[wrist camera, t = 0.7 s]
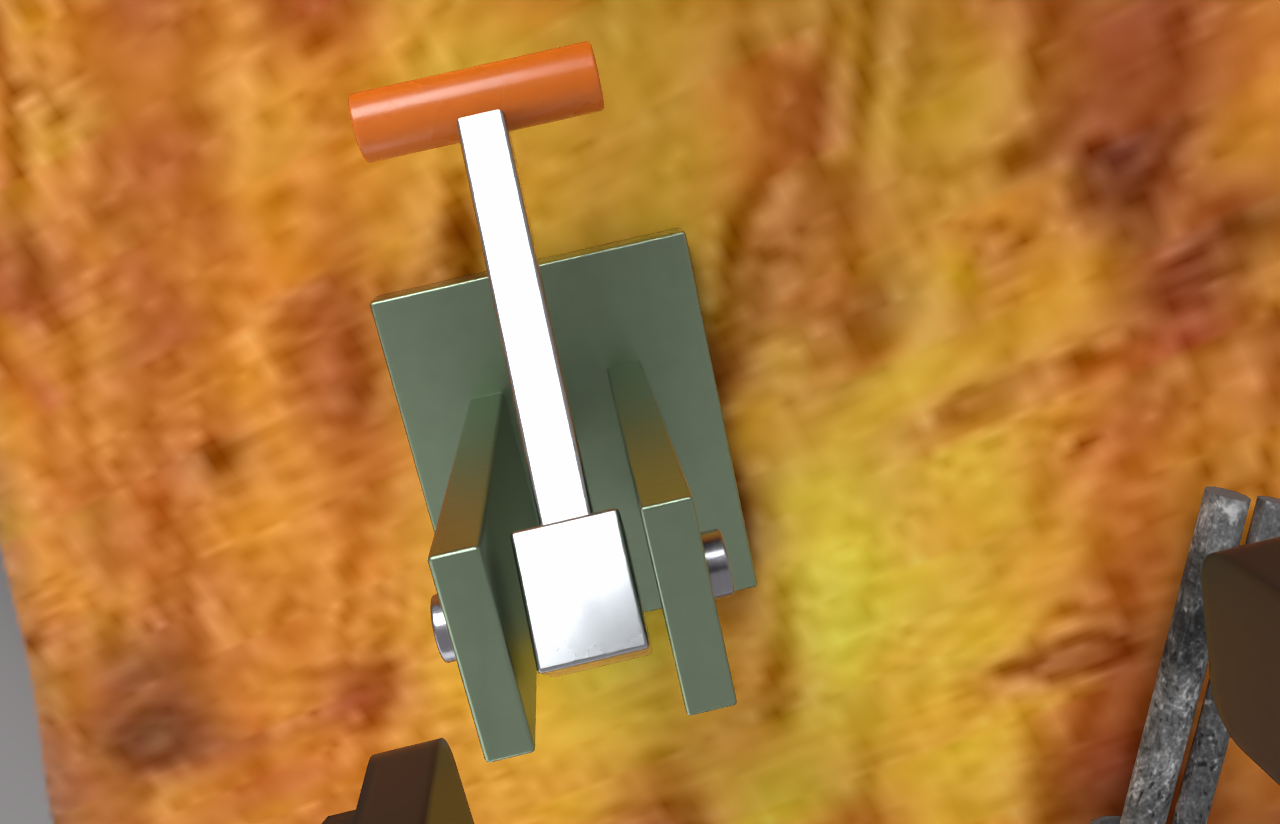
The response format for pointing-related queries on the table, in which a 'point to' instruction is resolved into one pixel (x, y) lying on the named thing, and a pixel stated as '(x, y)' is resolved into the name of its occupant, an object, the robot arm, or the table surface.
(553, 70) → the lever
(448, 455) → the bracket
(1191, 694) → the valve
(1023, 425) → the table surface
